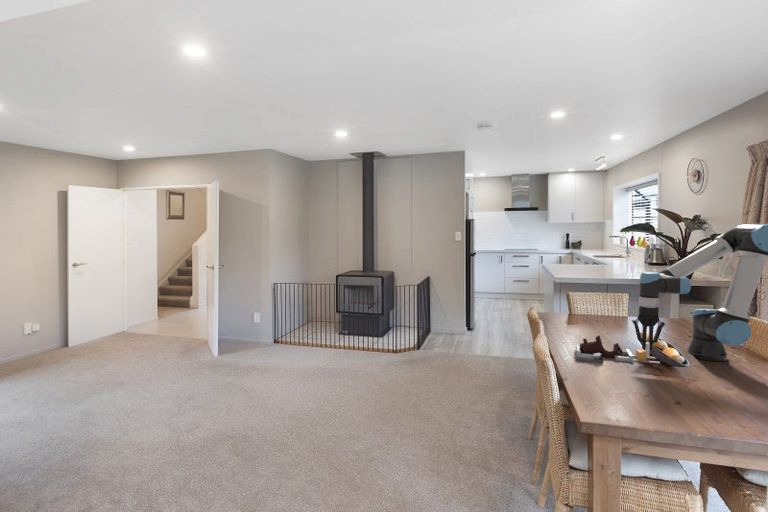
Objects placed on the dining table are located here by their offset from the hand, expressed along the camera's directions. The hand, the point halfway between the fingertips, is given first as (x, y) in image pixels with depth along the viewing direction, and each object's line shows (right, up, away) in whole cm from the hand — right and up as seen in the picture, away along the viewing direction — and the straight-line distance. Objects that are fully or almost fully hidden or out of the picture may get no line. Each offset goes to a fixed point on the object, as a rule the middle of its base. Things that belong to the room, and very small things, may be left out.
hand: (646, 356), depth 188 cm
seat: (-12, -3, +5) cm, 13 cm away
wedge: (-2, -2, +1) cm, 3 cm away
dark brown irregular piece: (-17, -2, +8) cm, 19 cm away
